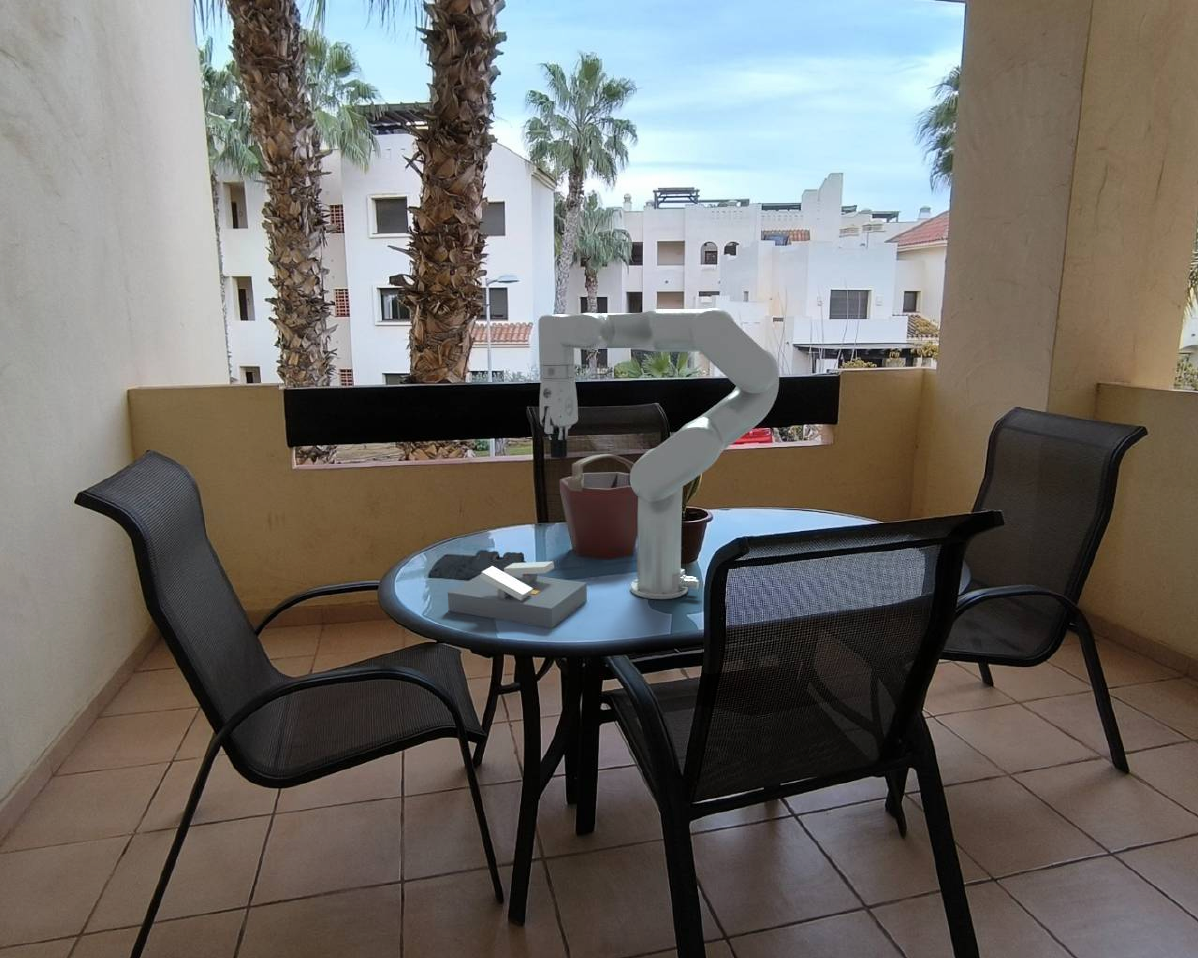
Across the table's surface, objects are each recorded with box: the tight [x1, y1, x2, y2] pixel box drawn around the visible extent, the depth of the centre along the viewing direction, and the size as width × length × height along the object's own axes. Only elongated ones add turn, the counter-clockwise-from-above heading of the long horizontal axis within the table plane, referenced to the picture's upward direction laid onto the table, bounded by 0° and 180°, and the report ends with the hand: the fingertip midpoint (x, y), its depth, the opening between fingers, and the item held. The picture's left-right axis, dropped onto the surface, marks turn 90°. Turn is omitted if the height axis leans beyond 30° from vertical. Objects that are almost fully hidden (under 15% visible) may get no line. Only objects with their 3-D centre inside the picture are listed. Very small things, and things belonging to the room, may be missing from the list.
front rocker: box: [480, 566, 533, 600], centre depth 151 cm, size 10×4×1 cm, turn 66°
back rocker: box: [504, 561, 555, 575], centre depth 160 cm, size 10×4×1 cm, turn 66°
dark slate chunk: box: [427, 549, 527, 582], centre depth 180 cm, size 15×22×5 cm
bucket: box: [559, 453, 638, 560], centre depth 194 cm, size 24×22×25 cm
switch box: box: [447, 571, 588, 629], centre depth 156 cm, size 24×16×6 cm, turn 66°
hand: (558, 457), depth 165 cm, fingers closed
